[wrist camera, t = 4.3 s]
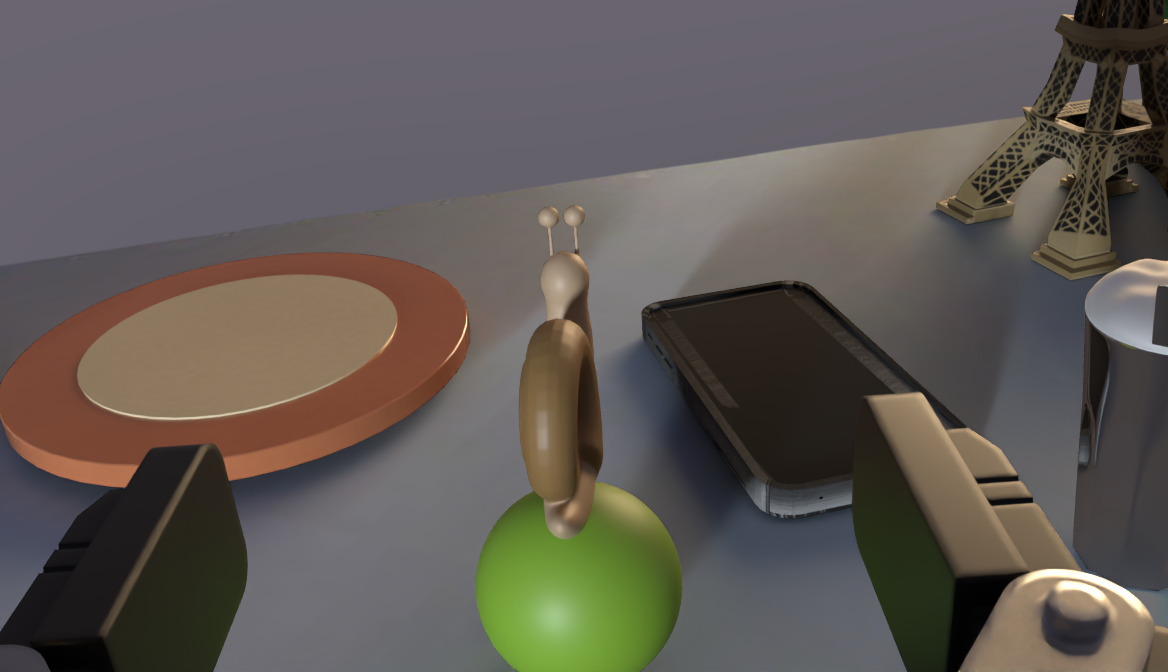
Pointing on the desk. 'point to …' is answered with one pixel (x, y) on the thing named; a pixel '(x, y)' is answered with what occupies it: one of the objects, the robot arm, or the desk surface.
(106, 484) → the plate
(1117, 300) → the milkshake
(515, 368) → the desk surface
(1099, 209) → the eiffel tower
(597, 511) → the snail figurine
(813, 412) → the phone
